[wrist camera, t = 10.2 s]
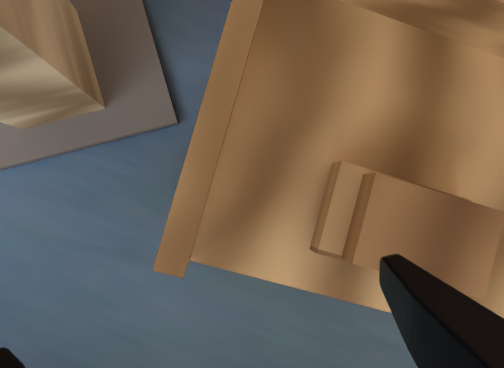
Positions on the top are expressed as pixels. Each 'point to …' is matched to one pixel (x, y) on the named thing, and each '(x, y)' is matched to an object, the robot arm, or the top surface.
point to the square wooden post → (44, 64)
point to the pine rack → (336, 131)
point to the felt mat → (103, 88)
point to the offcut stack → (407, 227)
